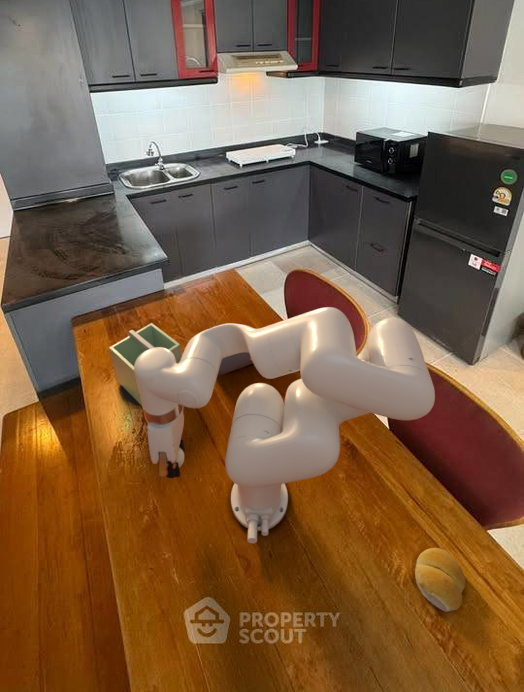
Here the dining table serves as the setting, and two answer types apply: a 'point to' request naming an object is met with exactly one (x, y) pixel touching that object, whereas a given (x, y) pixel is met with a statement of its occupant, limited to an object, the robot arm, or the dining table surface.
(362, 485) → the dining table surface
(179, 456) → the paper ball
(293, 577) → the dining table surface
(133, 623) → the dining table surface
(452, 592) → the bread roll
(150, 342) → the bin
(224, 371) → the bluetooth speaker
